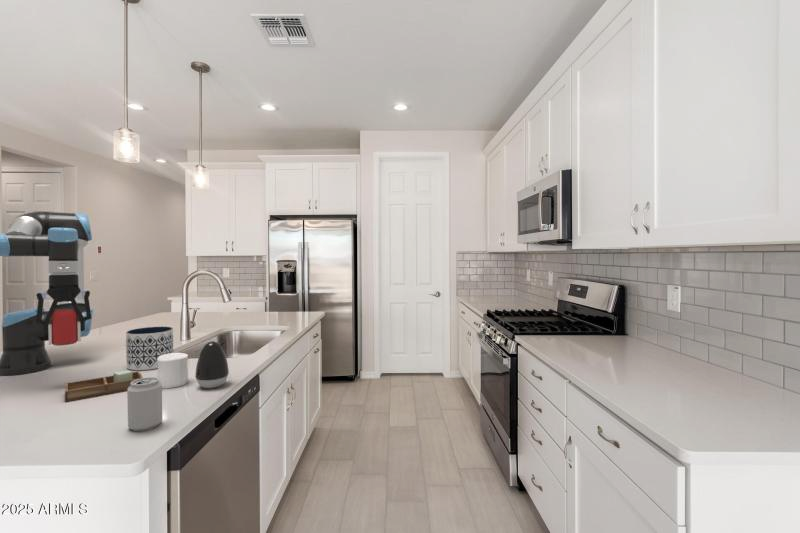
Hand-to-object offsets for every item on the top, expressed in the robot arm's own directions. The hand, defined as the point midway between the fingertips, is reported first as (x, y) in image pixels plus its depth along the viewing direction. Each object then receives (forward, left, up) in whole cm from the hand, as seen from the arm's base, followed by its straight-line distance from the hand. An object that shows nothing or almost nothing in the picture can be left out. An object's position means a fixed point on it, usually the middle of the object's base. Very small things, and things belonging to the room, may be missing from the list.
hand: (65, 342), depth 129 cm
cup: (+20, +28, -15) cm, 38 cm away
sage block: (+13, +15, -14) cm, 24 cm away
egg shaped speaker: (+31, +38, -15) cm, 51 cm away
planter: (-12, +26, -15) cm, 32 cm away
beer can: (0, 0, -1) cm, 1 cm away
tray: (+13, +10, -15) cm, 22 cm away
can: (+53, +16, -15) cm, 58 cm away
